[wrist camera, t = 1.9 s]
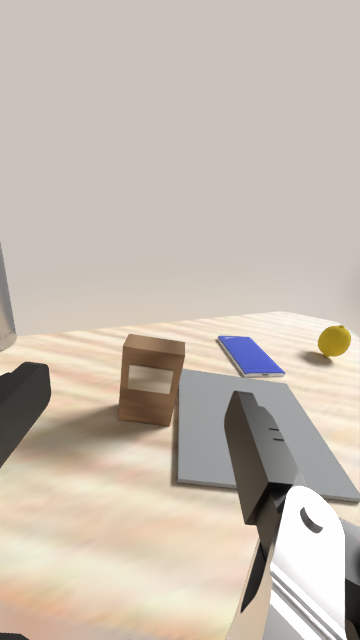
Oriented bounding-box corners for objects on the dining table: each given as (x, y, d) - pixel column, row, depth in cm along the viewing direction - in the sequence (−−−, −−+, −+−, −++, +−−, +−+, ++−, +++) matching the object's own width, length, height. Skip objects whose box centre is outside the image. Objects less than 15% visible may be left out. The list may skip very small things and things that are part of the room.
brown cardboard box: (117, 420, 24) (122, 346, 20) (123, 402, 26) (129, 333, 22) (169, 427, 24) (185, 356, 20) (170, 409, 26) (184, 342, 22)
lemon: (323, 349, 51) (339, 320, 48) (345, 363, 46) (364, 332, 43) (306, 349, 49) (321, 319, 46) (327, 364, 44) (346, 331, 41)
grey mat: (177, 482, 19) (178, 478, 19) (179, 371, 34) (179, 368, 33) (359, 502, 20) (362, 498, 20) (284, 386, 35) (286, 383, 35)
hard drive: (218, 335, 46) (246, 372, 35) (250, 336, 48) (286, 372, 37) (216, 341, 46) (243, 379, 36) (248, 342, 49) (282, 378, 38)
